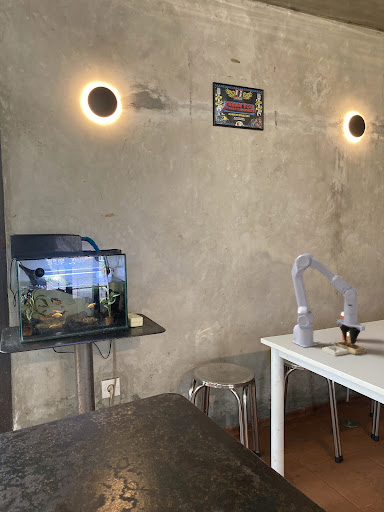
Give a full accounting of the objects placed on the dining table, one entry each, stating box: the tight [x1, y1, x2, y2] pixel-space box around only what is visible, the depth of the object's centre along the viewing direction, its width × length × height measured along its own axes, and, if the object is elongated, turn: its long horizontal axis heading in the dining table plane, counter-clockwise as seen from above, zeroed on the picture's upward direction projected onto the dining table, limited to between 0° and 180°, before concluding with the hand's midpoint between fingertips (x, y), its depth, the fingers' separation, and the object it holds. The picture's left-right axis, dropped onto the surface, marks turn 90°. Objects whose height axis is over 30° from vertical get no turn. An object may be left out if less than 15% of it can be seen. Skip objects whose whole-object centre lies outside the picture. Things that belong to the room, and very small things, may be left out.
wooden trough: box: [334, 340, 367, 356], centre depth 176 cm, size 12×6×2 cm, turn 24°
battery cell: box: [346, 331, 354, 348], centre depth 176 cm, size 3×3×8 cm
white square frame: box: [321, 344, 349, 357], centre depth 174 cm, size 8×8×2 cm
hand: (350, 342), depth 176 cm, fingers closed on battery cell, 3 cm apart
